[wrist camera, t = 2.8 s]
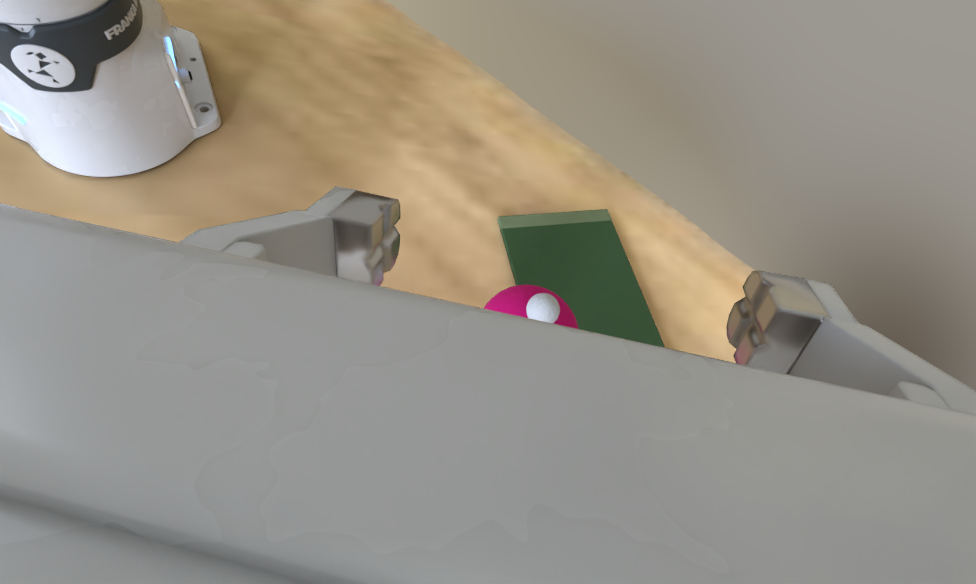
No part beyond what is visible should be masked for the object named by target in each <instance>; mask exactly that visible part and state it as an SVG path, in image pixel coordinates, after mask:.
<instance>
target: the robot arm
mask: <svg viewBox="0 0 976 584" xmlns="http://www.w3.org/2000/svg"><path fill="white" fill-rule="evenodd" d="M0 109H1V110H2V111H1V112H0V126H1V127H2V129H3V130H4V131H5V132H6V133H8V134H9V135H12V136H14V137H16V138H18V139H21V140H23V141H26V142H27V143H29V144H30V145H31V146H32V147H33V148H34V150H35V151H36V152H37V153H38V154H39V155H40V156H41V157H42V158H43V159H44V160H45V161H47V162H48V163H50V164H51V165H53V166H55V167H57V168H59V169H61V170H64V171H67V172H70V173H74V174H79V175H84V176H93V177H114V176H123V175H129V174H134V173H138V172H142V171H145V170H148V169H151V168H154V167H156V166H159V165H161V164H163V163H165V162H166V161H168V160H170V159H171V158H173V157H175V156H176V155H177V154H179V153H180V152H181V151H182V150H183V149H184V148H185V147H186V146H187V145H189V144H190V143H191V142H192V141H193V140H195V139H196V138H199V137H201V136H203V135H206V134H208V133H210V132H212V131H214V130H216V129H217V128H219V127H220V125H221V118H220V114H219V110H218V107H217V103H216V100H215V96H214V93H213V89H212V86H211V82H210V78H209V75H208V71H207V68H206V64H205V61H204V57H203V54H202V50H201V47H200V43H199V41H198V39H197V37H196V35H195V34H194V33H192V32H190V31H187V30H185V29H182V28H178V27H175V26H171V25H170V24H169V21H168V19H167V16H166V14H165V11H164V9H163V7H162V5H161V4H160V3H159V2H158V1H156V0H0ZM399 219H400V203H399V200H398V199H394V198H389V197H384V196H380V195H375V194H371V193H366V192H361V191H358V190H355V189H349V188H342V187H334V188H333V189H332V190H331V191H329V192H328V193H327V194H326V195H324V196H323V197H322V198H321V199H319V200H318V201H317V202H315V203H314V204H313V205H312V206H310V207H309V208H308V209H307V210H305V211H301V210H295V211H290V212H285V213H280V214H275V215H270V216H265V217H260V218H255V219H250V220H245V221H240V222H235V223H230V224H225V225H220V226H215V227H210V228H205V229H200V230H197V231H196V232H194V233H193V234H191V235H189V236H188V237H186V238H185V239H183V240H182V241H180V242H179V243H178V242H173V241H169V240H164V239H159V238H155V237H150V236H145V235H141V234H136V233H132V232H127V231H122V230H118V229H113V228H108V227H104V226H99V225H94V224H90V223H85V222H81V221H76V220H71V219H67V218H62V217H57V216H53V215H48V214H43V213H39V212H34V211H30V210H25V209H21V208H18V207H14V206H10V205H6V204H1V203H0V584H976V391H975V390H973V389H971V388H970V387H968V386H966V385H965V384H963V383H961V382H960V381H958V380H956V379H954V378H953V377H951V376H950V375H948V374H946V373H944V372H943V371H941V370H940V369H938V368H936V367H935V366H933V365H931V364H930V363H928V362H926V361H925V360H923V359H921V358H919V357H918V356H916V355H915V354H913V353H911V352H910V351H908V350H906V349H905V348H903V347H901V346H899V345H898V344H896V343H894V342H893V341H891V340H889V339H888V338H886V337H885V336H883V335H881V334H879V333H878V332H876V331H875V330H873V329H871V328H870V327H868V326H864V325H859V323H858V322H857V320H856V319H855V318H854V316H853V315H852V314H851V312H850V311H849V309H848V308H847V307H846V305H845V304H844V303H843V302H842V300H841V298H840V297H839V296H838V294H837V293H836V292H835V290H834V289H833V288H832V286H831V285H830V284H827V283H825V282H818V281H811V280H805V279H804V278H798V277H792V276H787V275H781V274H776V273H770V272H764V271H753V272H752V273H751V274H750V275H749V276H748V278H747V279H746V281H745V283H744V285H743V290H744V293H745V296H746V297H744V298H742V299H741V300H739V301H738V302H736V303H734V305H733V308H732V310H731V312H730V314H729V318H728V322H727V337H728V340H729V343H730V344H732V345H733V346H734V347H735V348H736V349H737V350H736V352H735V354H734V358H735V361H736V363H733V362H728V361H724V360H719V359H714V358H710V357H705V356H700V355H696V354H691V353H687V352H682V351H677V350H673V349H668V348H663V347H659V346H654V345H650V344H645V343H640V342H636V341H631V340H627V339H622V338H617V337H613V336H608V335H603V334H599V333H594V332H590V331H585V330H580V329H576V328H571V327H566V326H562V325H557V324H553V323H548V322H543V321H539V320H534V319H530V318H525V317H520V316H516V315H511V314H506V313H502V312H497V311H493V310H488V309H483V308H479V307H474V306H470V305H465V304H460V303H456V302H451V301H446V300H442V299H437V298H433V297H428V296H423V295H419V294H414V293H409V292H405V291H400V290H396V289H391V288H386V287H382V286H380V284H381V283H382V281H383V273H385V272H387V271H390V270H391V269H392V267H393V266H394V264H395V261H396V259H397V256H398V252H399V245H400V234H399V232H398V231H397V229H396V228H395V226H394V225H395V224H396V223H397V222H398V220H399Z"/></svg>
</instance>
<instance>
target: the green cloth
mask: <svg viewBox="0 0 976 584" xmlns="http://www.w3.org/2000/svg"><path fill="white" fill-rule="evenodd" d="M498 224H499V227H500V230H501V234H502V237H503V241H504V244H505V247H506V251H507V254H508V258H509V261H510V265H511V268H512V271H513V275H514V278H515V282H516V285H527V284H528V285H536V286H540V287H543V288H546V289H548V290H550V291H552V292H554V293H555V294H557V295H558V296H559V297H561V298H562V299H563V300H564V301H565V302H566V303H567V305H568V306H569V307H570V309H571V310H572V312H573V314H574V316H575V318H576V321H577V324H578V329H580V330H585V331H590V332H594V333H599V334H603V335H608V336H613V337H617V338H622V339H627V340H631V341H636V342H640V343H645V344H650V345H654V346H659V347H663V348H665V347H664V344H663V342H662V340H661V337H660V335H659V332H658V330H657V328H656V325H655V323H654V320H653V318H652V316H651V313H650V311H649V309H648V306H647V304H646V301H645V299H644V297H643V294H642V292H641V289H640V287H639V285H638V282H637V280H636V278H635V275H634V273H633V270H632V268H631V266H630V263H629V261H628V258H627V256H626V254H625V251H624V249H623V247H622V244H621V242H620V239H619V237H618V235H617V232H616V230H615V227H614V225H613V223H612V220H611V217H610V215H609V213H608V210H607V209H604V210H589V211H574V212H560V213H545V214H530V215H516V216H501V217H498Z"/></svg>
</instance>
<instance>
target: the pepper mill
mask: <svg viewBox="0 0 976 584" xmlns="http://www.w3.org/2000/svg"><path fill="white" fill-rule="evenodd" d="M484 309H488V310H493V311H497V312H502V313H506V314H511V315H516V316H520V317H525V318H530V319H534V320H539V321H543V322H548V323H553V324H557V325H562V326H566V327H571V328H576V329H578V324H577V321H576V318H575V316H574V314H573V312H572V310H571V309H570V307H569V306H568V305H567V303H566V302H565V301H564V300H563V299H562V298H561V297H559V296H558V295H557V294H555V293H554V292H552V291H550V290H548V289H546V288H543V287H540V286H536V285H528V284H527V285H517V286H513V287H509V288H507V289H505V290H503V291H501V292H499V293H498V294H497V295H495V296H494V297H493V298H492V299H491V300H490V301H489V302H488V303H487V304H486V306H485V307H484Z"/></svg>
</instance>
